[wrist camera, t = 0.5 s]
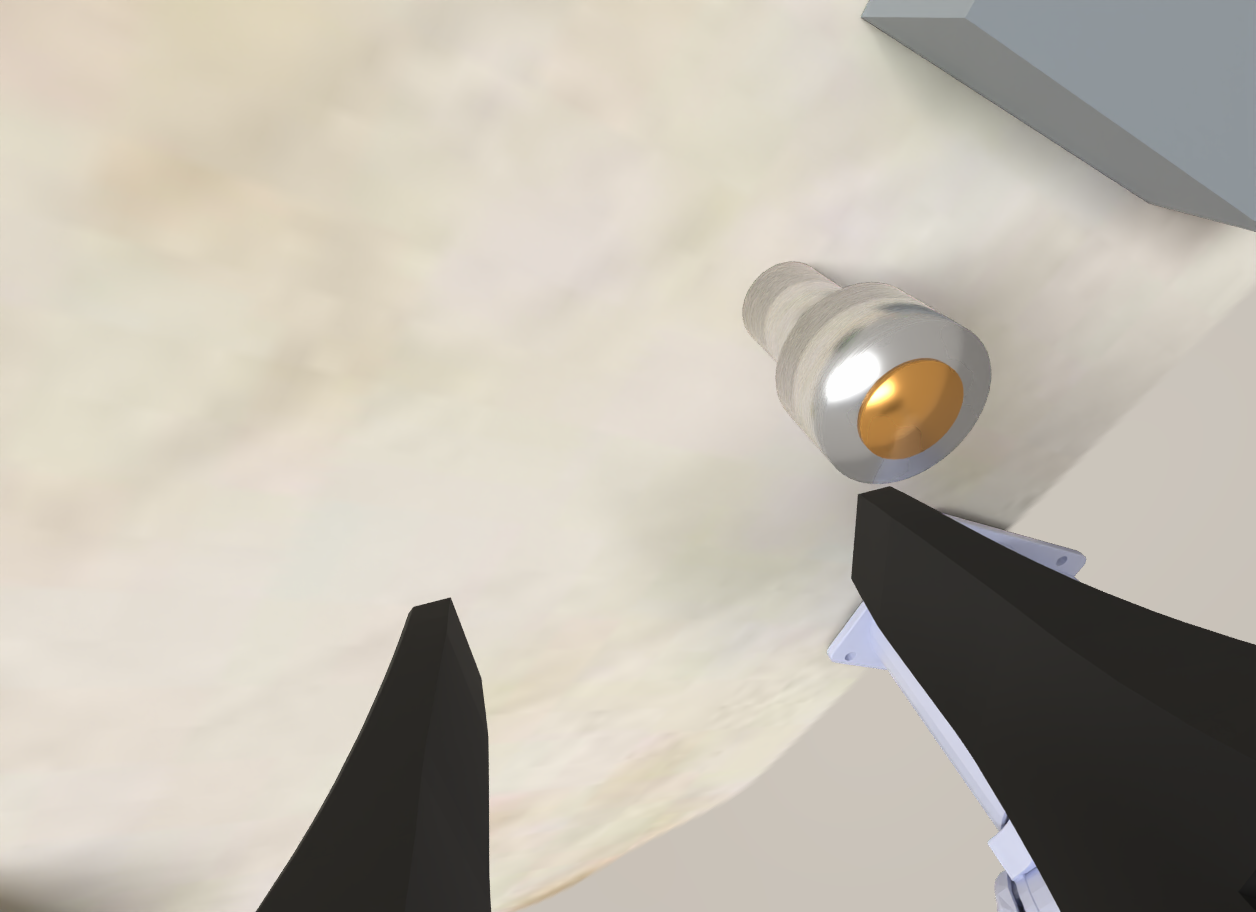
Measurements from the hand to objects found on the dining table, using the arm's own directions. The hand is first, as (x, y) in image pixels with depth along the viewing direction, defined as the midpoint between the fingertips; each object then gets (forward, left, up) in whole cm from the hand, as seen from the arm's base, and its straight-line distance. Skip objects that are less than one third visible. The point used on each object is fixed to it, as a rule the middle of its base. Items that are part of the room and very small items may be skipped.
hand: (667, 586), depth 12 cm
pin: (-5, -4, -10) cm, 12 cm away
